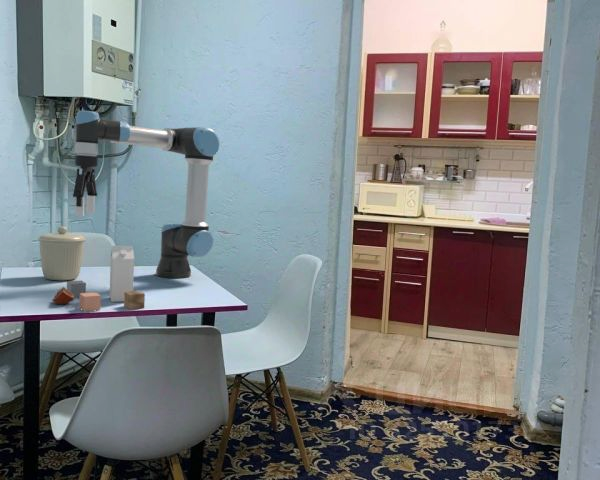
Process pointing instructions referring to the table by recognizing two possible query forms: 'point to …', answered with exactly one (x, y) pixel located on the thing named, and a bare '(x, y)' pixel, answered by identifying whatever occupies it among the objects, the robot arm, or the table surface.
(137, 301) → the walnut block
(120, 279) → the milk carton
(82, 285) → the slate grey block
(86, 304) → the terracotta block
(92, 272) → the table surface
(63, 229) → the canister
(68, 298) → the fruit slice
